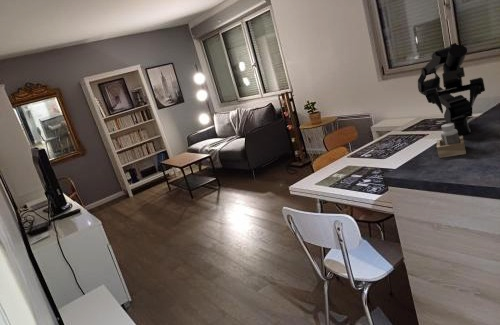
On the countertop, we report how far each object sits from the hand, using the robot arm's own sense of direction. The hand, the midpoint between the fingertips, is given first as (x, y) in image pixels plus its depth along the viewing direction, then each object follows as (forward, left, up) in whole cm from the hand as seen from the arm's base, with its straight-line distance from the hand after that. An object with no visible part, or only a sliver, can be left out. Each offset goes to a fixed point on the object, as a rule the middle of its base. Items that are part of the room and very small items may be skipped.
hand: (456, 110), depth 129 cm
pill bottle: (+5, -3, -13) cm, 15 cm away
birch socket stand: (+6, -4, -14) cm, 15 cm away
